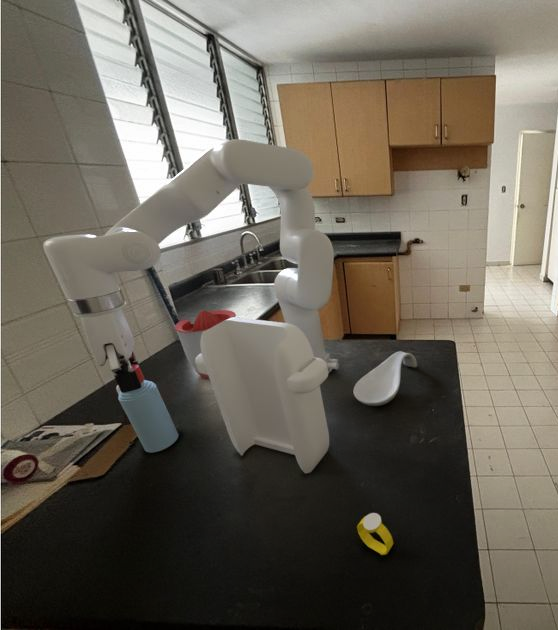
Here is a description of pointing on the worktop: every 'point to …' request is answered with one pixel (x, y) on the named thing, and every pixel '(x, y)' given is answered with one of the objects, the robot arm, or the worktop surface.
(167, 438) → the water bottle
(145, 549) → the worktop surface
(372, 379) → the spoon rest
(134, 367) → the cap
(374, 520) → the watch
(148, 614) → the worktop surface
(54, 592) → the worktop surface
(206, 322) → the citrus juicer
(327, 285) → the robot arm
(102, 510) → the worktop surface
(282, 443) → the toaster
